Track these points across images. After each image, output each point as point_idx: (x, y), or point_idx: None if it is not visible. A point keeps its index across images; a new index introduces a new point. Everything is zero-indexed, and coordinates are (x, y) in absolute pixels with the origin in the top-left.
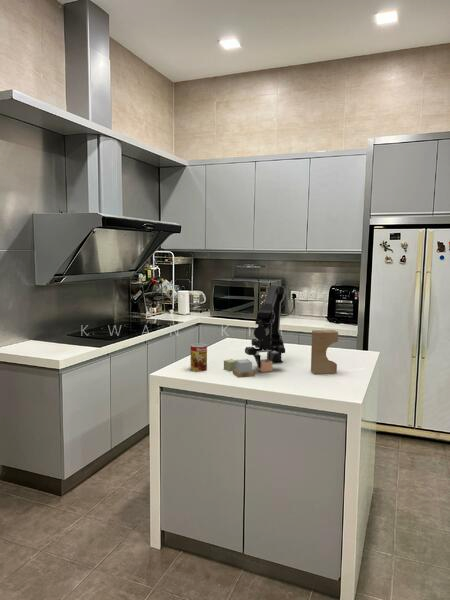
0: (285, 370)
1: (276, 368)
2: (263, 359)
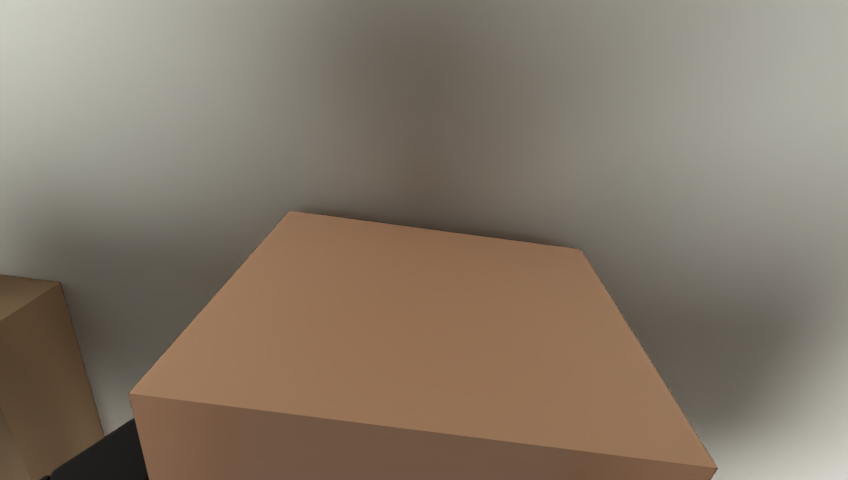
0: (817, 444)
1: (804, 270)
2: (462, 445)
